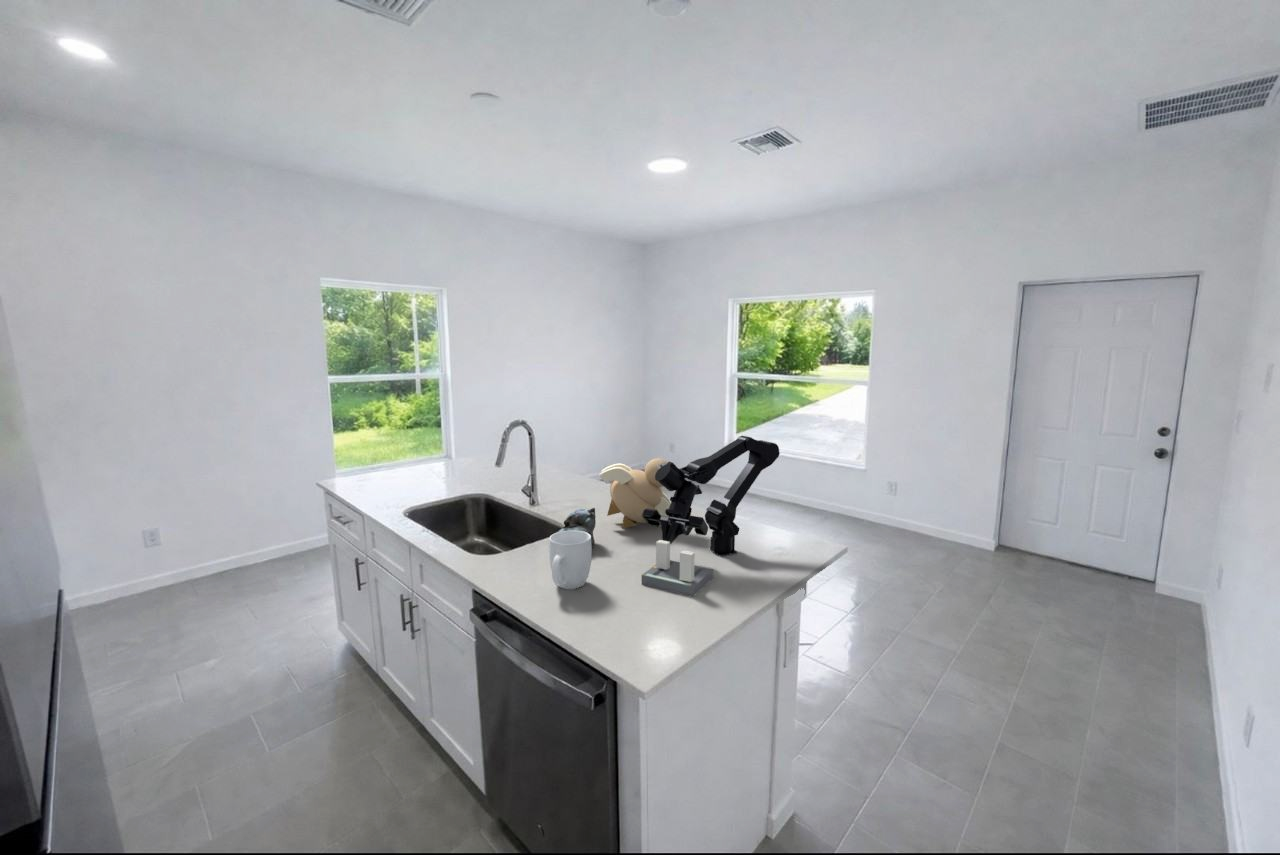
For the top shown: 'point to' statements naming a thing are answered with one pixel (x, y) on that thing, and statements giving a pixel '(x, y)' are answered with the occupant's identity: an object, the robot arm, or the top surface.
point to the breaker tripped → (662, 554)
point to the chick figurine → (635, 491)
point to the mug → (570, 558)
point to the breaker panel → (677, 579)
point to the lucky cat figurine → (581, 522)
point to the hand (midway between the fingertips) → (664, 548)
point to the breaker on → (687, 566)
